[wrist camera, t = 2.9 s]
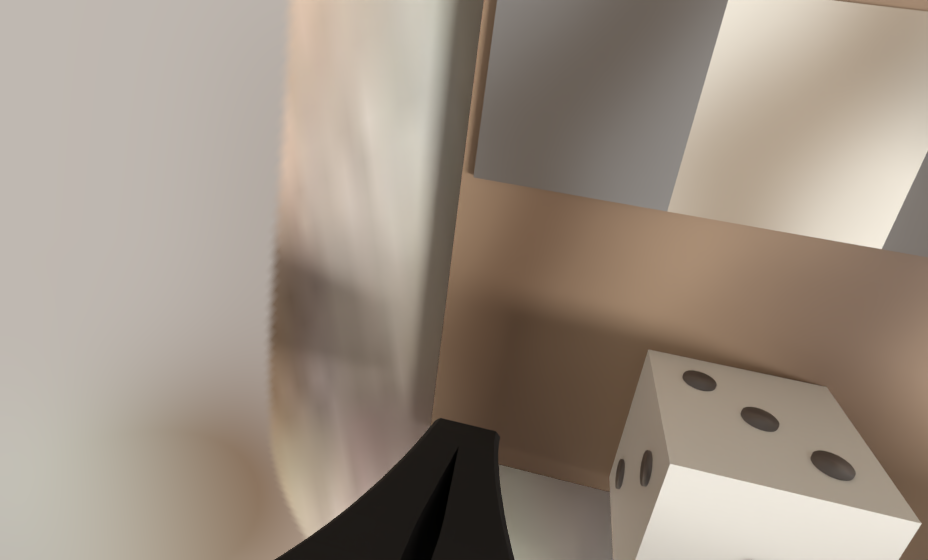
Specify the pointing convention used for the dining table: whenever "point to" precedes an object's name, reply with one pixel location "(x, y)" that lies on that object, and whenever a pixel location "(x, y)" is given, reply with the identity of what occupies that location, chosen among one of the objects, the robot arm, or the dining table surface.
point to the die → (747, 472)
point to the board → (691, 219)
